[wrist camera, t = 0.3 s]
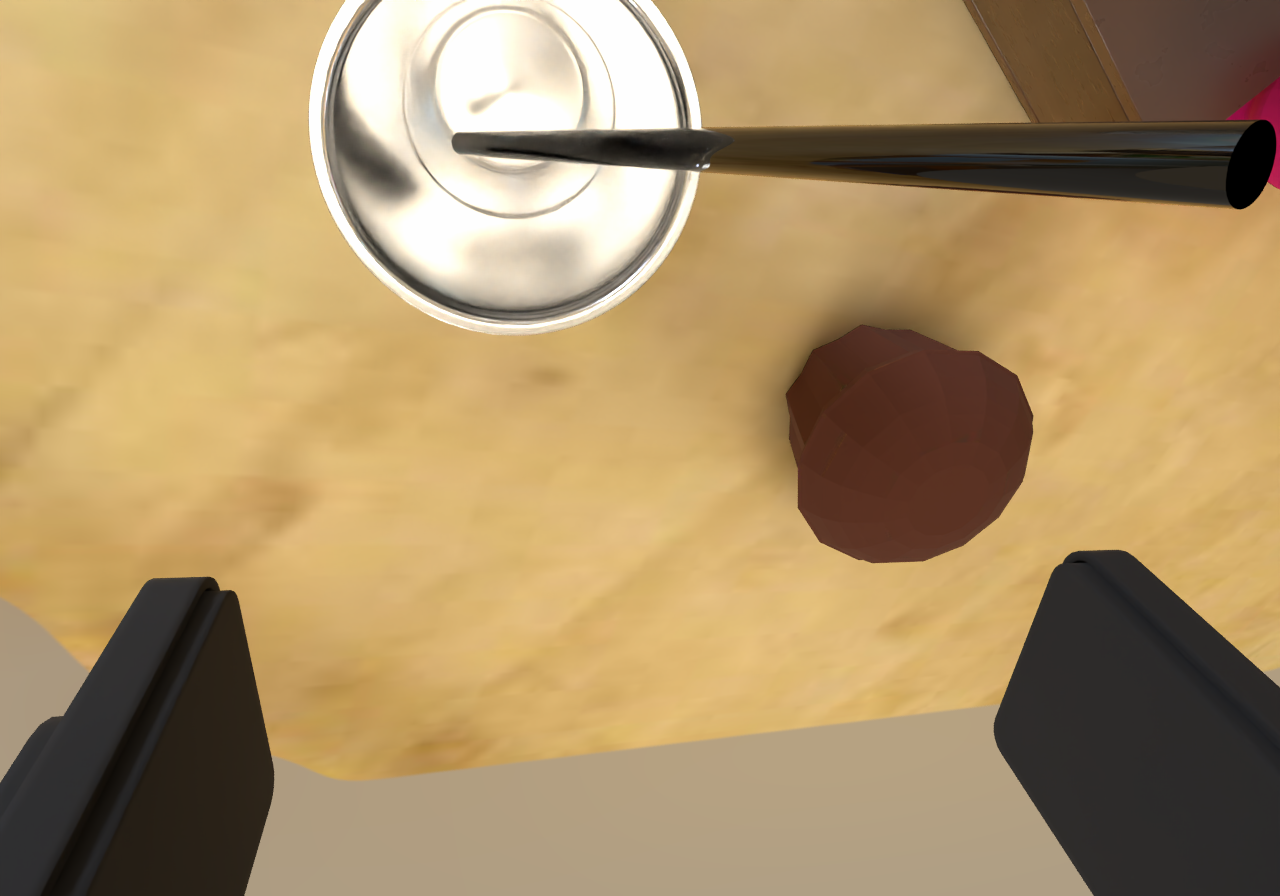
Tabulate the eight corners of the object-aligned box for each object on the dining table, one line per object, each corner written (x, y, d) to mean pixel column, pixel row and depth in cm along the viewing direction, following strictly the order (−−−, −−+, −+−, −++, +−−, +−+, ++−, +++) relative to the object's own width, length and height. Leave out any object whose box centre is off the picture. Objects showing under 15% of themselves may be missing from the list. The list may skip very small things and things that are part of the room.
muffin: (889, 253, 40) (993, 325, 32) (1003, 387, 45) (1120, 481, 36) (715, 416, 43) (767, 521, 35) (839, 525, 48) (912, 642, 39)
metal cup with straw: (703, 32, 34) (1320, 153, 8) (570, 261, 38) (707, 828, 12) (469, -141, 30) (253, -933, 4) (346, 135, 34) (-150, 578, 8)
